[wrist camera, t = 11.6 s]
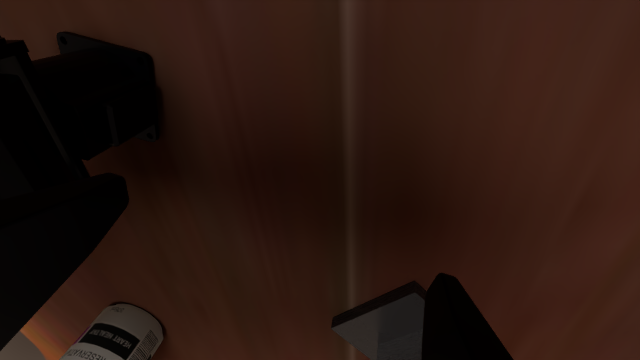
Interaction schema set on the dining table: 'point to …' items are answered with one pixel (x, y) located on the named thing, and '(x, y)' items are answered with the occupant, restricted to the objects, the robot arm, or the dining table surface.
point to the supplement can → (118, 336)
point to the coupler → (382, 319)
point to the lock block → (402, 348)
